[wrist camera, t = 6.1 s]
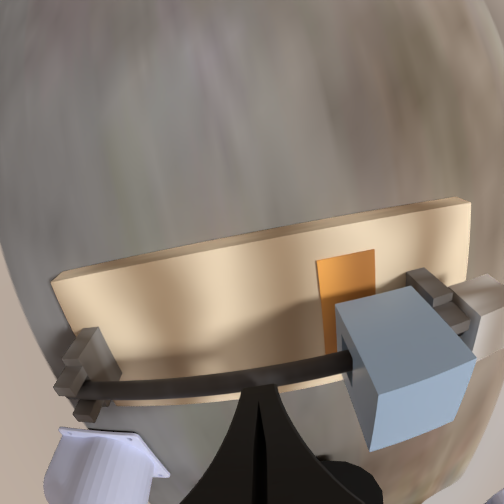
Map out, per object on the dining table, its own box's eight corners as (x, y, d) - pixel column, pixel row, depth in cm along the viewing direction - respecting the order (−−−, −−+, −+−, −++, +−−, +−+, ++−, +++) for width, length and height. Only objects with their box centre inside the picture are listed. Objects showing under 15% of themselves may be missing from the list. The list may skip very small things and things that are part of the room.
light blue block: (337, 363, 15) (369, 452, 10) (334, 304, 14) (378, 394, 8) (405, 345, 15) (453, 420, 9) (410, 285, 13) (477, 357, 8)
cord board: (122, 391, 20) (97, 460, 14) (62, 271, 16) (1, 329, 10) (444, 333, 19) (490, 390, 12) (455, 196, 15) (532, 229, 9)
